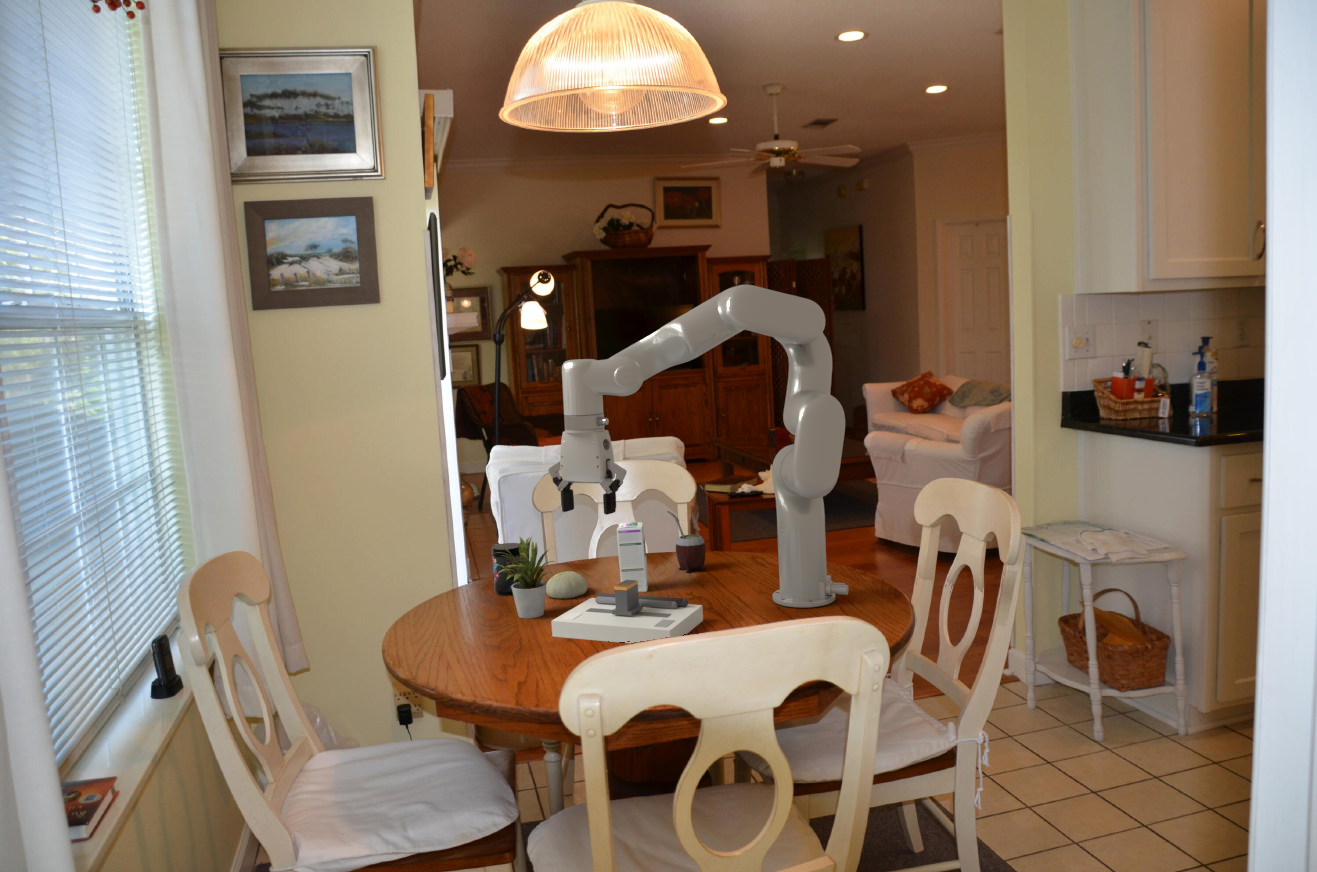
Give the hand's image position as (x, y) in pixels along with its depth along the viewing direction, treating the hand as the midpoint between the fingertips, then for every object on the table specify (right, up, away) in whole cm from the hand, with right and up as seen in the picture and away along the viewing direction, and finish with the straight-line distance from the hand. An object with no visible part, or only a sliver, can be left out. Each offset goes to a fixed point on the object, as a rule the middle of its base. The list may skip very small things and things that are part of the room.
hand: (588, 511), depth 180 cm
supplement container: (-20, -20, +28) cm, 40 cm away
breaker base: (+8, -22, -4) cm, 23 cm away
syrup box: (+8, -19, +24) cm, 32 cm away
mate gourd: (+21, -17, +38) cm, 47 cm away
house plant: (-13, -22, +10) cm, 27 cm away
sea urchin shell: (-6, -20, +23) cm, 32 cm away
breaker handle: (+8, -18, -4) cm, 20 cm away
